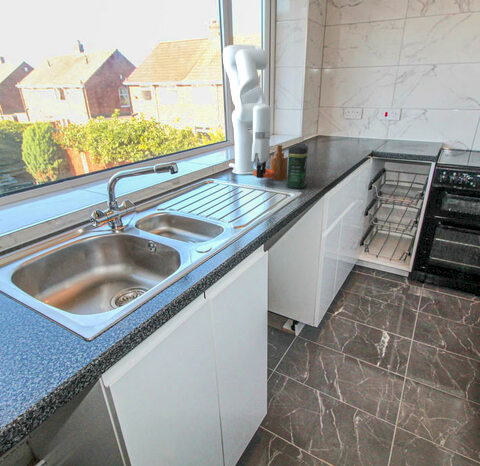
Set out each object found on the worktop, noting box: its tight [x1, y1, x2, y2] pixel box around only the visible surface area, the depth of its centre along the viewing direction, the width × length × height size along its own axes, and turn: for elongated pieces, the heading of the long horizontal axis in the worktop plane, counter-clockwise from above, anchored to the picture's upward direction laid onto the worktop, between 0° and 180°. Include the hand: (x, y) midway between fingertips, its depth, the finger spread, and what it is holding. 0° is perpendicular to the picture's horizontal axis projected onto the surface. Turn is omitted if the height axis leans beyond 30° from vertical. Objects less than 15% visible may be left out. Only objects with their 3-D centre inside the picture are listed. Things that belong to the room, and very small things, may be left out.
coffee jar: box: [286, 143, 309, 190], centre depth 144 cm, size 10×8×19 cm
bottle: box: [269, 144, 288, 181], centre depth 158 cm, size 8×8×16 cm
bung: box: [253, 168, 275, 179], centre depth 153 cm, size 10×10×2 cm
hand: (261, 176), depth 150 cm, fingers closed on bung, 2 cm apart
